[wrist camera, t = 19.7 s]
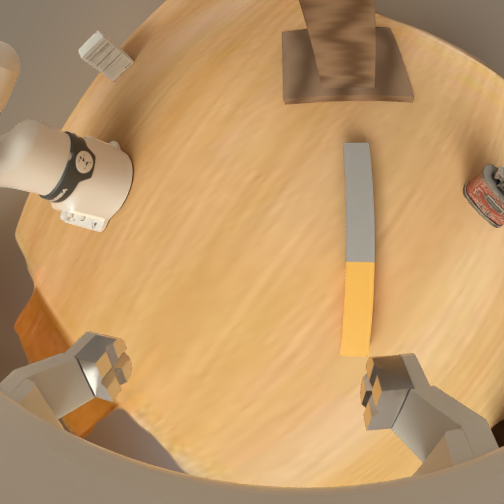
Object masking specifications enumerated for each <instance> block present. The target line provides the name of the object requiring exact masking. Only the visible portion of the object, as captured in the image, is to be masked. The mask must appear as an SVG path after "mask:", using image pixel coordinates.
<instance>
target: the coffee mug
mask: <svg viewBox="0 0 504 504" xmlns="http://www.w3.org/2000/svg"><path fill="white" fill-rule="evenodd" d="M491 431H492V433H493V436H494V438H495V440H496V442H497V445H498V447H499V448H501V447H503V446H504V420H503V421H501V422H499V423H498V424H496V425H495V426H494V427H493V428H492V429H491Z"/></svg>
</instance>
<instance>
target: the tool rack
mask: <svg viewBox="0 0 504 504" xmlns="http://www.w3.org/2000/svg"><path fill="white" fill-rule="evenodd" d="M299 2H300V5H301V8H302V12H303V15H304V18H305V22H306V25H307V29H304V30H295V31H287V32H282V52H283V100H284V102H285V105H286V104H297V103H310V102H327V101H399V102H413V99H414V95H413V91H412V88H411V84H410V81H409V78H408V75H407V72H406V69H405V66H404V63H403V60H402V57H401V54H400V51H399V49H398V46H397V43H396V41H395V38H394V36H393V33H392V31H391V29H390V28H386V27H375V6H374V0H299Z"/></svg>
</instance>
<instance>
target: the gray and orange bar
mask: <svg viewBox="0 0 504 504" xmlns="http://www.w3.org/2000/svg"><path fill="white" fill-rule="evenodd" d="M343 150H344V166H345V187H346V278H345V299H344V315H343V328H342V340H341V350H340V355H341V356H368V354H369V345H370V335H371V324H372V311H373V295H374V269H375V223H374V197H373V181H372V168H371V157H370V147H369V143H343Z"/></svg>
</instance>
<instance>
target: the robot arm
mask: <svg viewBox="0 0 504 504" xmlns="http://www.w3.org/2000/svg"><path fill="white" fill-rule="evenodd" d="M19 73H20V62H19V59H18V56H17V54H16V52H15V50H14V49H13V48H12V47H11V46H10V45H8V44H7V43H4V42H1V41H0V114H1V112H2V110H3V108H4V107H5V105H6V103H7V101H8V99H9V96H10V94H11V92H12V90H13V87H14V85H15V82H16V80H17V78H18V76H19ZM132 174H133V169H132V163H131V160H130V158H129V156H128V155H127V154H126V153H124V152H123V151H122V150H121V148H120V145H119V143H118V142H116V141H111V142H110V143H106V142H104V141H101V140H99V139H96V138H94V137H91V136H86V137H84V138H81V137H79V136H78V135H76V134H74V133H70V132H67V131H66V132H63V131H60V130H58V129H56V128H54V127H52V126H50V125H48V124H46V123H44V122H41V121H40V120H37V119H29V120H25V121H22V122H20V123H19V124H17V125H16V126H15V127H14V128H12V130H10V131H9V132H8V133H6V134H4V135H2V136H0V187H7V188H14V189H19V190H24V191H28V192H32V193H36V194H39V195H40V197H42V198H44V199H45V200H47V201H51V205H52V208H53V209H55V210H59V211H61V212H62V213H61V216H60V219H62V220H63V221H64V222H66V223H69V224H73V225H76V226H80V227H83V228H87V229H90V230H94V231H98V232H102V231H103V230H104V229H105V227H106V225H107V223H108V221H109V220H110V218H111V217H112V216H113V215H114V214H115V213H116V212H117V211H118V210H119V209H120V207H121V206H122V204H123V203H124V201H125V199H126V197H127V195H128V192H129V189H130V186H131V182H132ZM126 349H127V347H126V345H125V342H124V340H122V339H121V338H117V337H112V336H108V335H104V334H98V333H95V332H91V331H90V332H86V333H85V334H84V335H83V336H82V337H81V338H80V339H79V340H78V341H77V342H76V343H74V344H73V345H72V346H71V347H70V348H69V349H68V350H67V351H66V352H65V353H64V354H62V353H60V354H57V355H55V356H52V357H49V358H46V359H43V360H41V361H38V362H35V363H32V364H30V365H27V366H24V367H21V368H18V369H15V370H13V371H12V372H11V373H10V374H9V375H8V376H7V377H6V378H5V379H4V380H3V381H2V382H1V383H0V504H504V446H503V447H501V448H499V447H498V445H497V442H496V440H495V438H494V436H493V433H492V431H491V429H490V427H489V425H488V423H487V421H486V419H485V418H483V417H482V416H480V415H478V414H477V413H475V412H474V411H472V410H471V409H469V408H468V407H466V406H464V405H463V404H461V403H460V402H458V401H457V400H455V399H454V398H452V397H451V396H449V395H448V394H446V393H444V392H443V391H441V390H440V389H438V388H437V387H435V386H430V385H429V383H428V380H427V378H426V376H425V374H424V372H423V370H422V368H421V366H420V364H419V362H418V359H417V357H416V355H415V354H413V353H409V354H400V355H392V356H376V357H369V359H368V360H367V364H366V370H367V374H366V375H365V376H363V379H362V383H361V391H360V395H361V403H362V405H363V406H364V407H365V408H366V409H365V412H364V420H365V426H366V430H378V429H389V428H392V429H391V430H392V431H393V432H394V433H395V434H396V435H397V436H398V437H399V438H400V439H401V440H402V441H403V442H404V443H405V444H406V445H407V446H408V448H409V449H410V450H411V451H412V452H413V453H414V454H415V455H416V456H417V457H418V458H419V459H420V460H421V461H422V462H423V464H422V465H421V466H420V467H419V469H418V470H417V471H416V472H415V473H414V475H413V476H411V477H407V478H402V479H396V480H391V481H384V482H378V483H370V484H362V485H352V486H340V487H317V488H295V487H271V486H258V485H248V484H240V483H232V482H225V481H219V480H213V479H208V478H202V477H197V476H193V475H188V474H184V473H179V472H175V471H171V470H168V469H164V468H160V467H157V466H153V465H150V464H147V463H143V462H140V461H137V460H134V459H131V458H128V457H126V456H123V455H120V454H117V453H115V452H112V451H109V450H107V449H104V448H102V447H100V446H97V445H95V444H93V443H91V442H88V441H86V440H84V439H82V438H80V437H77V436H75V435H73V434H71V433H69V432H67V431H65V430H64V429H63V426H62V425H61V423H60V422H59V421H58V419H59V418H61V417H63V416H64V415H66V414H68V413H70V412H71V411H73V410H75V409H76V408H78V407H80V406H81V405H83V404H85V403H86V402H88V401H90V400H91V399H93V398H94V396H95V397H98V398H101V399H104V400H108V401H111V402H113V401H114V400H115V398H116V397H117V395H118V394H119V393H120V391H121V385H122V384H124V383H126V382H127V381H128V379H129V378H130V376H131V372H132V363H131V360H130V358H129V356H128V355H127V354H126V353H125V351H126Z"/></svg>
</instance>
